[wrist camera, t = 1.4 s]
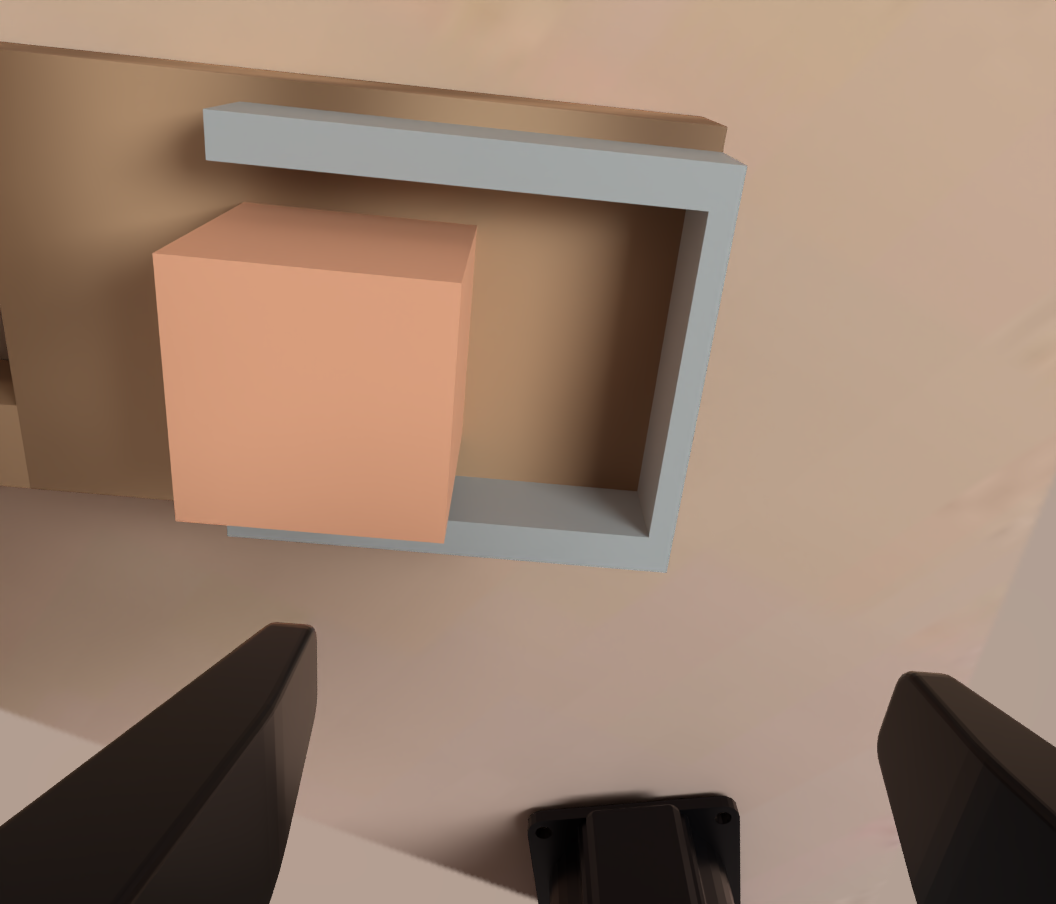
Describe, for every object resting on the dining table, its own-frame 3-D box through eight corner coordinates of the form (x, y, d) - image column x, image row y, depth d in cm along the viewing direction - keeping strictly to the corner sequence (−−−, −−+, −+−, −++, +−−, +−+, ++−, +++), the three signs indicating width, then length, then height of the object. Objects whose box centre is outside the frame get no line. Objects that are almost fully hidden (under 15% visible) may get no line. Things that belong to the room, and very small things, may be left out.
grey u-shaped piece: (723, 152, 16) (747, 166, 14) (653, 523, 20) (666, 572, 18) (239, 101, 16) (202, 108, 14) (255, 490, 19) (227, 536, 17)
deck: (702, 116, 18) (727, 127, 16) (637, 490, 22) (650, 540, 20) (-249, 15, 17) (-364, 10, 15) (-145, 421, 21) (-224, 466, 19)
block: (477, 225, 17) (460, 283, 13) (462, 434, 19) (444, 543, 15) (243, 202, 17) (152, 253, 13) (252, 416, 18) (175, 521, 14)
